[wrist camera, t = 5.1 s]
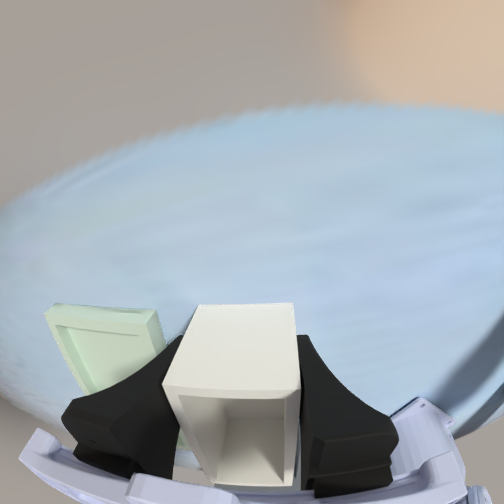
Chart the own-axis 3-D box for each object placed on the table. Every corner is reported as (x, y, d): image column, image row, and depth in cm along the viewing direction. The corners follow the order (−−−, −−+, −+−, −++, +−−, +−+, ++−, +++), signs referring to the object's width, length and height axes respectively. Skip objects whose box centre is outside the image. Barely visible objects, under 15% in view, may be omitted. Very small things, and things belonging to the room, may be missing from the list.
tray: (200, 438, 19) (196, 451, 18) (116, 422, 20) (111, 433, 19) (156, 309, 15) (146, 324, 14) (55, 303, 16) (43, 313, 14)
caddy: (290, 416, 17) (291, 485, 12) (223, 415, 18) (210, 482, 12) (292, 302, 14) (301, 388, 8) (198, 304, 15) (161, 384, 9)
